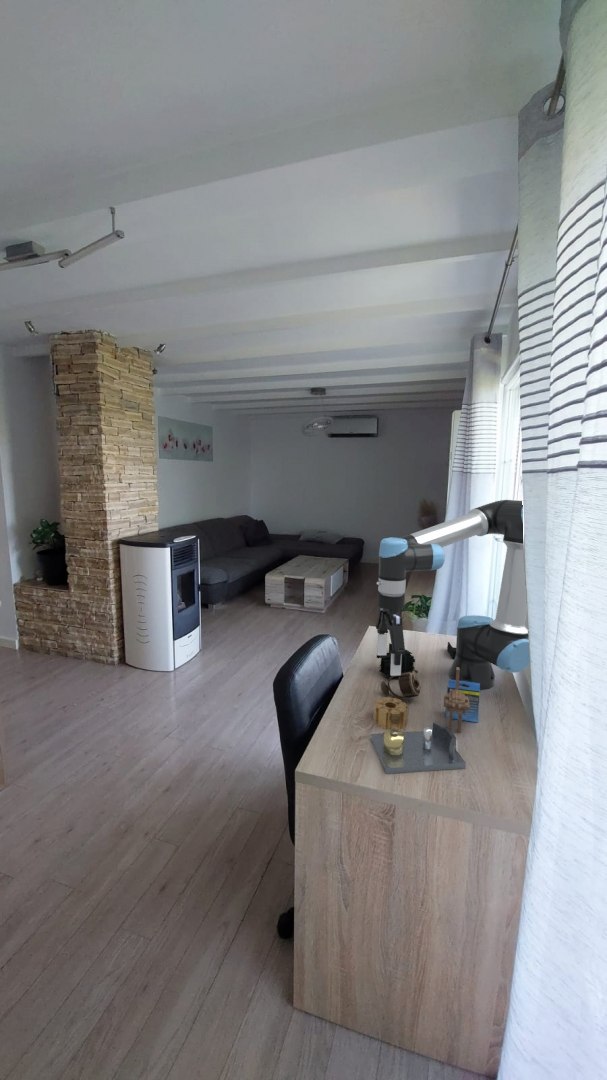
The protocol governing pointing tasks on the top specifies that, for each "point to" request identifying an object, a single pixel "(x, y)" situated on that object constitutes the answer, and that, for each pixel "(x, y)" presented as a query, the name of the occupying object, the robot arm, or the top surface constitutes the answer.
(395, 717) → the gear
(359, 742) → the top surface
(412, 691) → the mechanical counter
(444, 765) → the carrier
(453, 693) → the ostrich figurine
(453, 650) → the battery charger
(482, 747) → the top surface
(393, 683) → the top surface
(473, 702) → the label tape cartridge
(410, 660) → the extrusion
